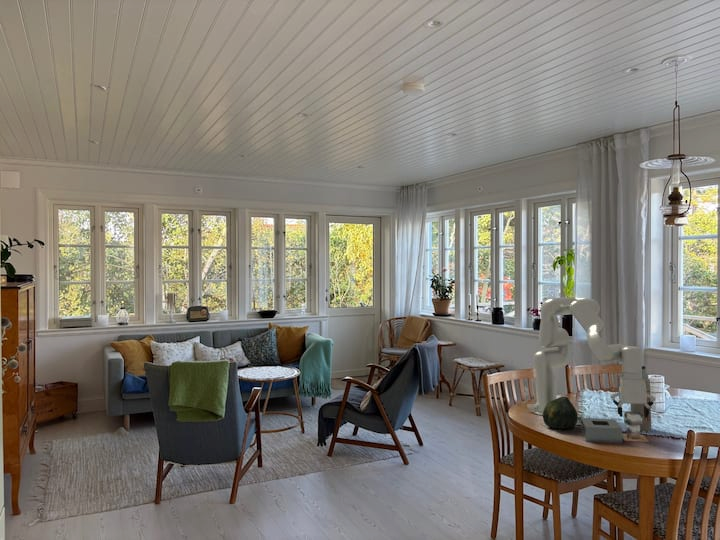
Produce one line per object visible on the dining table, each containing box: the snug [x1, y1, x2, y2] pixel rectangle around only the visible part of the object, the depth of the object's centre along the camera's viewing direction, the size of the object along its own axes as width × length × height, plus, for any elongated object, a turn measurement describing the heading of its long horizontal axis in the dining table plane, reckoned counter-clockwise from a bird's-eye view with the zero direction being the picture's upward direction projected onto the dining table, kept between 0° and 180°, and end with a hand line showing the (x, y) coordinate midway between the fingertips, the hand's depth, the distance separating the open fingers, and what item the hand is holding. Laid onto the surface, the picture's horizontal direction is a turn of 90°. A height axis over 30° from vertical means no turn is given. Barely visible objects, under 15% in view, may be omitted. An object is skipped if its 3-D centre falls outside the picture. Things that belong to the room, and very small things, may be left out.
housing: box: [580, 417, 623, 444], centre depth 226 cm, size 14×14×6 cm
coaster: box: [622, 433, 649, 443], centre depth 224 cm, size 9×9×1 cm
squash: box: [542, 396, 578, 430], centre depth 242 cm, size 14×15×15 cm
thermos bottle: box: [630, 365, 652, 433], centre depth 236 cm, size 8×8×28 cm
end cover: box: [623, 410, 642, 439], centre depth 224 cm, size 7×7×10 cm
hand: (633, 416), depth 224 cm, fingers open, 9 cm apart
